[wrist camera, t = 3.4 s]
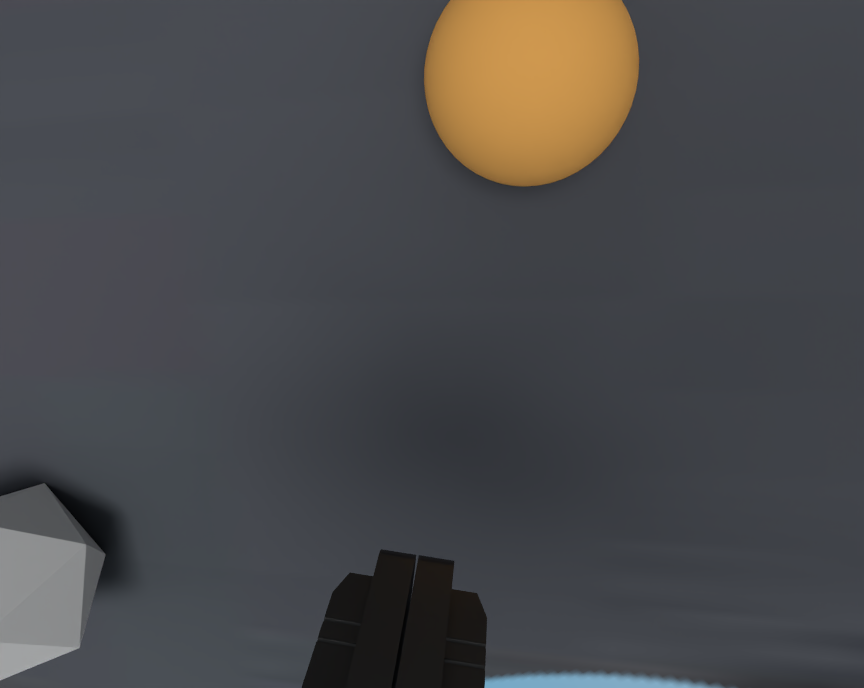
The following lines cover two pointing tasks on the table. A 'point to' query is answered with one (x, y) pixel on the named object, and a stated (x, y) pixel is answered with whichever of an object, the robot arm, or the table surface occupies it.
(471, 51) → the ball
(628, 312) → the table surface
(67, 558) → the die
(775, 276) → the table surface
